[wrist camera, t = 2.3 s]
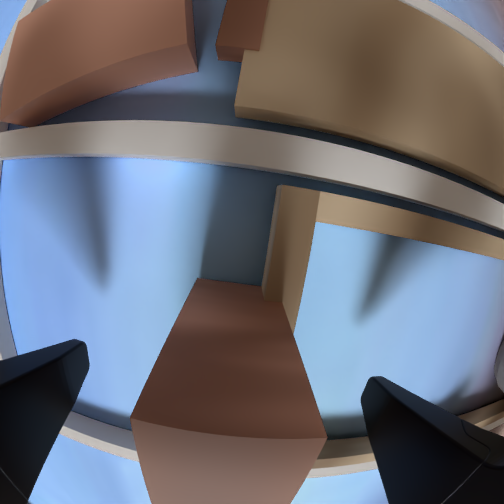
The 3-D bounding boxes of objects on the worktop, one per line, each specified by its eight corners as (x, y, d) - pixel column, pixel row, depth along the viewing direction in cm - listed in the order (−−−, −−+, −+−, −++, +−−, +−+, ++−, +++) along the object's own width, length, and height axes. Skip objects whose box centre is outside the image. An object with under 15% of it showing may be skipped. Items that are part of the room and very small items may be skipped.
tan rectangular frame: (569, 266, 9) (620, 288, 4) (519, 397, 12) (556, 433, 6) (209, 176, 8) (127, 141, 2) (189, 443, 10) (171, 553, 4)
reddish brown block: (192, -14, 7) (183, -50, 5) (199, 75, 8) (187, 43, 6) (46, 39, 7) (18, 21, 5) (37, 129, 8) (-1, 120, 6)
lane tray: (578, 148, 8) (608, 149, 4) (513, 409, 12) (535, 431, 9) (49, -10, 6) (14, -40, 2) (25, 404, 10) (-5, 440, 7)
